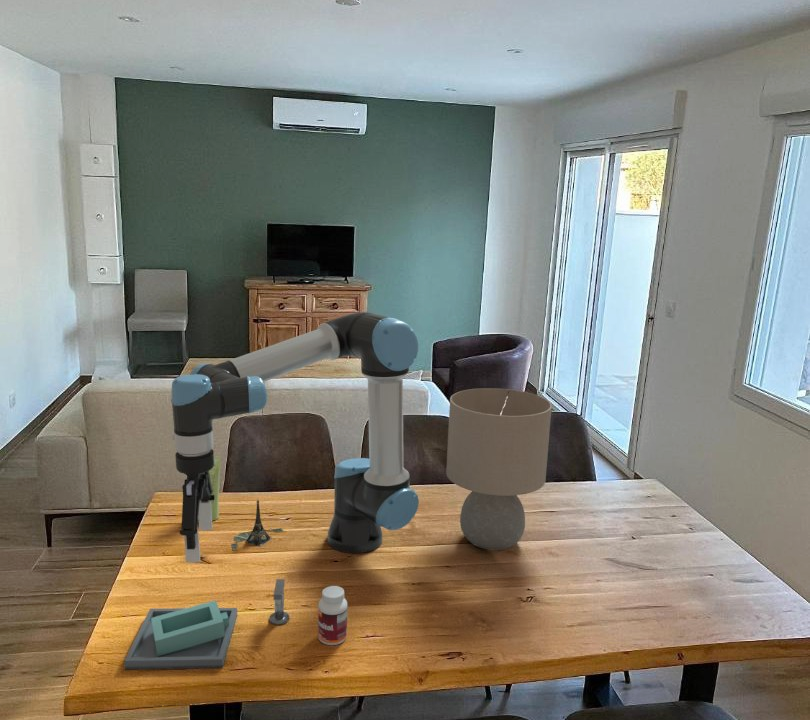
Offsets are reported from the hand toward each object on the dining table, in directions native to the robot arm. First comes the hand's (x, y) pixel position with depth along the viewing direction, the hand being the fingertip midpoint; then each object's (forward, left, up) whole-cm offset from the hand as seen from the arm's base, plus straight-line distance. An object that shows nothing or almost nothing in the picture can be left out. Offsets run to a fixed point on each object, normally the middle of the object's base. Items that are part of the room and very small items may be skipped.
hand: (199, 544), depth 147 cm
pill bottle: (-28, +5, -20) cm, 35 cm away
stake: (-16, -2, -20) cm, 26 cm away
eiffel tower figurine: (-7, -40, -20) cm, 46 cm away
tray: (+3, +5, -20) cm, 20 cm away
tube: (+9, -53, -20) cm, 58 cm away
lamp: (-71, -38, -20) cm, 83 cm away
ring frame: (+2, +5, -18) cm, 19 cm away
